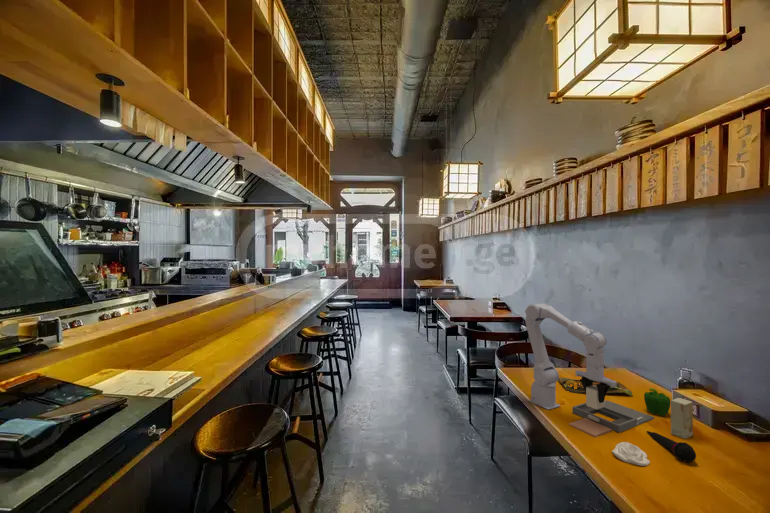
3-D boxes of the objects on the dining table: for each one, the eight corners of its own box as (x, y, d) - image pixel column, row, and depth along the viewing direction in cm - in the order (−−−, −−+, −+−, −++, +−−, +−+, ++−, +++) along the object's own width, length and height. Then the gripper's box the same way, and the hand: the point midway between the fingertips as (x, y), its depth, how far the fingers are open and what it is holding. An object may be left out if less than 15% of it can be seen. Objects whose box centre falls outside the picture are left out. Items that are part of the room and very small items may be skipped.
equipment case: (571, 413, 138) (571, 407, 138) (607, 401, 149) (607, 396, 149) (617, 433, 122) (617, 426, 122) (654, 418, 133) (654, 412, 133)
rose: (627, 434, 113) (658, 450, 104) (627, 447, 113) (658, 464, 104) (604, 438, 110) (633, 455, 101) (604, 452, 110) (634, 470, 101)
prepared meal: (568, 385, 159) (556, 372, 177) (567, 393, 159) (556, 379, 177) (634, 392, 154) (615, 378, 171) (633, 400, 154) (615, 385, 171)
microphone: (643, 441, 122) (686, 468, 102) (636, 425, 123) (678, 448, 103) (658, 437, 122) (704, 463, 102) (651, 421, 123) (696, 444, 103)
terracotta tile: (569, 425, 128) (569, 423, 128) (585, 419, 132) (585, 417, 132) (595, 437, 119) (595, 435, 119) (611, 430, 123) (611, 429, 123)
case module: (586, 405, 129) (586, 387, 129) (594, 403, 131) (593, 384, 132) (596, 409, 126) (596, 390, 126) (604, 406, 128) (604, 388, 128)
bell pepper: (671, 413, 138) (670, 388, 138) (670, 420, 132) (669, 394, 132) (645, 407, 144) (645, 383, 144) (643, 413, 138) (643, 389, 138)
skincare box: (685, 439, 117) (685, 404, 118) (670, 434, 121) (670, 400, 121) (693, 435, 120) (693, 401, 121) (678, 429, 124) (678, 397, 124)
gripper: (621, 368, 124) (621, 405, 124) (582, 358, 137) (583, 391, 137) (610, 371, 121) (610, 408, 121) (572, 360, 134) (572, 394, 134)
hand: (595, 399), depth 129 cm, fingers closed on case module, 4 cm apart
